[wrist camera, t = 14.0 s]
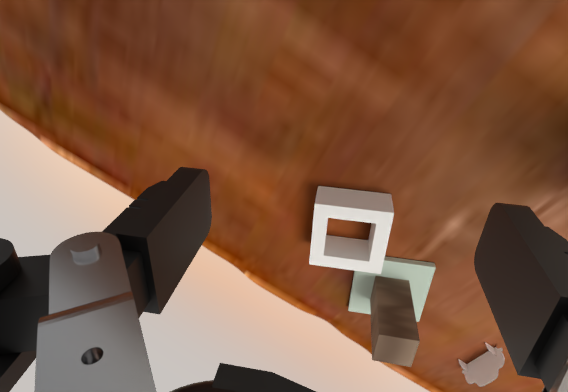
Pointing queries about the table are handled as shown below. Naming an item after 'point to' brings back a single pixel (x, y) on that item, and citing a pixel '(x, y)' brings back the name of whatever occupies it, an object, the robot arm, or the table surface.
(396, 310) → the walnut block
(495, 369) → the grey eared piece
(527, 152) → the table surface
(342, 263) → the pocket holder
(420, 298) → the green mat
